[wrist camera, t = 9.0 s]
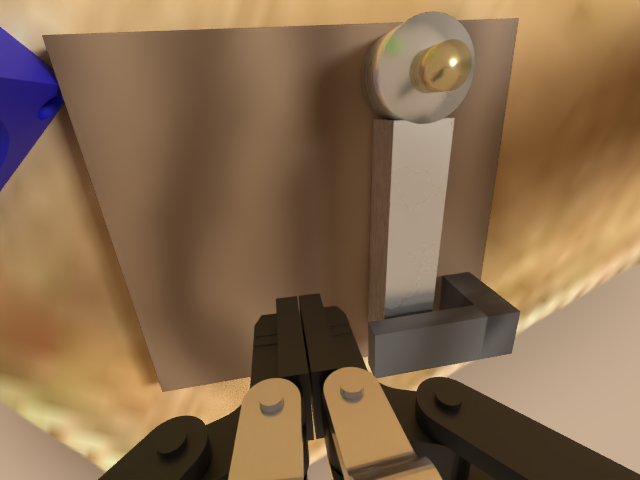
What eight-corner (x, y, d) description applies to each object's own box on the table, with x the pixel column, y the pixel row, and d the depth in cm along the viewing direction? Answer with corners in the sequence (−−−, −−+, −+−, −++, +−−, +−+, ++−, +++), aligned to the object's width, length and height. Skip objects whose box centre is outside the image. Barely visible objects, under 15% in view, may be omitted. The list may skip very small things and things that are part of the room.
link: (361, 28, 16) (400, -4, 11) (445, 28, 16) (512, -2, 12) (358, 325, 22) (381, 377, 18) (417, 317, 23) (454, 366, 19)
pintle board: (499, 25, 18) (610, -15, 13) (461, 326, 26) (517, 387, 21) (61, 42, 15) (-62, -1, 10) (168, 375, 23) (136, 463, 18)
